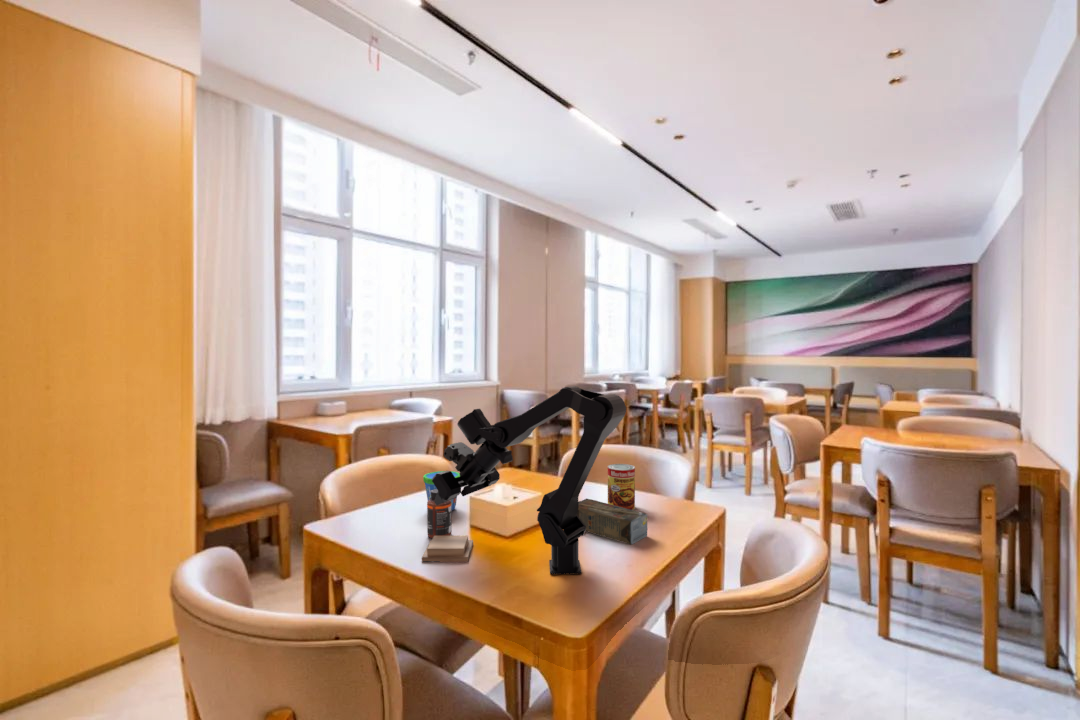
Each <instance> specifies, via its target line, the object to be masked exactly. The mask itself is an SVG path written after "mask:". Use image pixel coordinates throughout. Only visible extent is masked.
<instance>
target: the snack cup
mask: <svg viewBox="0 0 1080 720" xmlns="http://www.w3.org/2000/svg"><path fill="white" fill-rule="evenodd" d="M444 471H445V470H440V471H439V470H438V471H432V472H428V473H425V474H424V475H423V476H422V480H423V483H424V485H425V486H424V487H425V491H426V498H427V501H428V500H429V499H430V498H431V491H432V490H434V489H437V488H436V486H435V485H434V483H433V482H432V478H433V477H434V476H435V475H436V474H437V473H440V472H444ZM450 471H451V472H452V474H453V475H454V477H455V478H457V477H460V474H459V473H460V472H459V471H454V470H453V471H452V470H450ZM457 498H458V496H456V498H454V499H452V500H451V512H452V511H454V510H456V506H457V500H458V499H457Z"/></svg>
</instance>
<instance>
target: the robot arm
mask: <svg viewBox="0 0 1080 720" xmlns="http://www.w3.org/2000/svg"><path fill="white" fill-rule="evenodd" d="M569 409H570V410H572V411H574V412H576V413H577V414H578V415H581V416H583V419H582V420H583V421H582V426H583V431H582V435H581V437H580V439H579V440H578V441H579V442H578V444H577V446H576V448H575V450H574V452H573V454H572V457H571V459H570V460H569V461H570V462H569V464H568V466H567V468H566V470H565V472H564V474H563V477H562V479H561V481H560V483H559V484H558V485H559V486H558V488H556V489H554V490H551V491H549V492H548V493H545V494H544V495H543V497H542V499H541V503H540V506H539V507H538V508H537V509H536V512H538V514H537V518H536V519H537V522H538V526H539V528H540V529H541V530H540V531H541V532H542V536H543V541H544V543H545V544H547V545H550V546H551V549H550V551H551V553H550V555H551V557H550V558H551V559H549V561H548V563H549V565H548V566H549V574H550V575H582V572H583V571H582V567H581V562H580V559H579V538H581V537H583V536H584V535H585V533H586V531H585V530H586V526H585V524H584V523H583V522H582V521H581V519H580V518H579V517H578V515H577V511H578V508H579V503H578V502H579V498H580V494H581V491H582V489H583V487H584V486H585V484H586V481H587V478H588V477H589V474H590V472H591V470H592V469H593V466H594V464H595V461H596V459H597V457H598V456H599V453H600V451H601V449H602V446H603V444H604V442H605V440H606V439H607V438H609V435H610V434H611V433H612V432H613V431H615V429H616V428H617V427H618V426H619V424H620V423H621V421H622V420H623V419H624V417H625V416H626V413H627V406H626V403H625V401H624V399H623V398H622V397H621V396H619V395H617V394H616V393H609V394H603V393H600V392H597V391H596V392H595V391H591V390H588V389H585V388H581V387H579V386H576V385H571V386H565V387H562V388H561V389H560V390H559V391H558V392H556V393H555V394H554V393H553V395H551V396H550V397H548V398H546V399H545V400H543V401H542V402H539V403H538V404H536V405H535V406H532V408H530V409H528V410H526V411H524V412H523V413H522V414H519V415H516V416H513V417H510V418H507V419H504V420H500V421H498V422H496V423H494V424H491V422H489V420H488V419H487V417H486V416H485V415H484V412H483V410H482V409H481V408H475V409H474V408H473V410H472V411H471V412H469V413H467V414H466V415H464V416H463V417H461V418H460V419H458V422H457V427H458V428H459V430H460V431H461V433H462V434H463V435H464V437H465V438H466V440H467V441H468V443H469V444H470V445H476V446H478V448H477V449H476V450H475V451H474V450H473V449H472V448H471V447H470V446H468V445H467V444H466V443H464V442H459V441H458V442H455V443H450V445H447V446H446V447H445V448H444V450H443V457H444V458H445V459H446V460H447V461H449V462H453V463H454V464H455V470H456V472H458V473H459V474H460V477H457V478H455V477H454V475H453V474H452V472H451V471H452V470H443V471H444V472H440V473H437V474H436V475H435V476H434V477H433V478H432V482H433V483H434V485H435V486H436V488H437V490H438V492H437V495H436V499H435V504H436V505H440V504H442V503H445V502H447V501H450V500H452V499H454V498H456V496H457V497H458V496H459V495H460V494H461V497H465V496H468V495H470V494H473V493H475V492H478V491H480V490H483V489H486V488H488V487H491V486H493V485H494V484H497V482H498V481H500V479H501V477H500V476H501V475H500V472H499V471H498V470H497V468H496V466H497V465H498V464H499V463H501V464H502V465H505V464H508V463H510V462H513V461H514V459H513V455H512V454H513V451H512V450H509V449H508V447H511V446H516V445H519V444H521V443H523V442H524V441H525V440H527V438H528V437H529V436H530V435H532V433H533V431H534V430H536V428H538V427H539V426H541V425H543V424H545V423H546V422H548V421H550V420H551V419H553V418H556V417H557V416H558V415H561V414H562V413H563V412H565V411H567V410H569Z"/></svg>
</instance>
